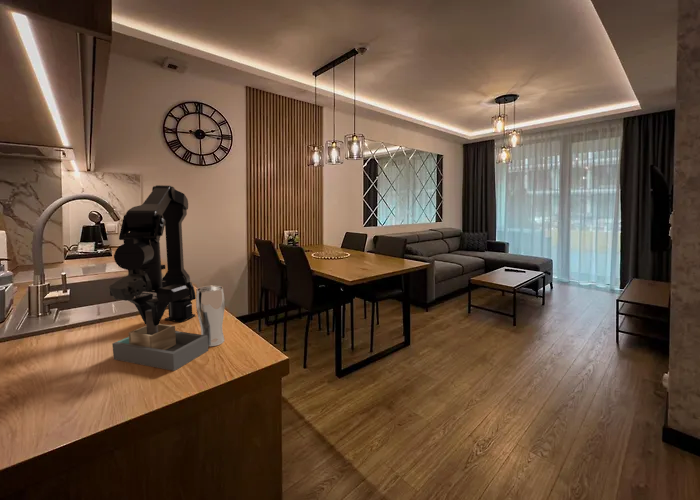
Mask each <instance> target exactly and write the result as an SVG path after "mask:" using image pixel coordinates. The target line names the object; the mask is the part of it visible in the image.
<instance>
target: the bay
mask: <svg viewBox="0 0 700 500" xmlns="http://www.w3.org/2000/svg"><path fill="white" fill-rule="evenodd" d="M175 335H176V345H174V346H172V347H170V348H169V349H167V350H161V349H155V348H149V347H144V346H138V345H132V344H129V336H126V337H125V338H122V339H120V340H117V341H115V342H113V343H112V354H113V355H112V356H113V360H114V361H115V360H116V361H120V362H125V363H131V364H135V365H142V366H146V367H151V368H157V369H163V370H167V371H173V372H175V371H177V370H178V369H180V368H182V367H184V366H185V365H187V364H188V363H191V362H192V361H194V360H195V359H196V358H198V357H200V356H201V355H203V354H205V353H207V352H208V351H209V347H208V336H207V335H201V333H200V334H198V333H192V332H186V331H178V330H175Z"/></svg>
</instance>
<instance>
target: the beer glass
mask: <svg viewBox="0 0 700 500" xmlns="http://www.w3.org/2000/svg"><path fill="white" fill-rule="evenodd" d="M224 292H225V291H224V287H223V286H222V285H217V284H216V285H215V284H213V285H212V284H211V285H204V286H199V287H197V288H196V290H195V295H196V299H195V302H196V303H195V306H196V307H195V308H196V313H197V318H198V321H199V327H200V331H201V332H200V335H207V336H208V348H212V347H217V346H220V345H222V344H223V343H224V342H225V336H224V332H223V331H224V330H223V324H224V323H223V322H224V316H225V307H226V306H225V302H226V301H225V294H224Z"/></svg>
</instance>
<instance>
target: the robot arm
mask: <svg viewBox="0 0 700 500" xmlns="http://www.w3.org/2000/svg"><path fill="white" fill-rule="evenodd" d="M188 209H189V200H188V198H187V196H186V194H185V193H183V192H182V191H179V190H177V189H176V188H175V187H174V186H172V185H166V184H165V185H162V184H159V185H158V184H156V185H153V186H152V190H151V192H150V194H149V195H148V196H147V198H146V199H145V200H144V201H143V203H142V204H140V205H136V206H132V207H131V208H129V209H128V210H127V211H126V212H125V214H124V215H123V218H122V222H121V226H120V231H119V235H118V240H119V241H123V243H122V244H121V245H119V246H118V247H117V248H116V249H115V251H114V254H113V259H114V262H115V264H116V266H117V265H118V267H119V268H121V269H123V270H127V272H128V273H127V275H126V276H123V277H121V278H120V279H119V280H117V281H115V282H114V283H112V284H111V285H109V286H108V288H109V296H110V297H113V298H114V299H113V300H116V301H118V300H123V301H125V302H126V301H127V302H130V303H131V304H133V305H134V306H135V307H136V309H137V310H138V313H139V315H140V317H141V318H142V321H143V324H145V325H146V315H145V311H147V310H151V311H152V318H153V323H154V325H155V326H156V325H158V324H161V320H162V317H163V316H164V314H165V312H166V309H167V307H168V317H165V318H164V321H168V322H169V321H170V322H176V323H177V322H178V323H182V322H184V321H187V320H190V319H192V318H194V317H196V314H195V313H194V314H193V304H192V302H193V300H196V290H195V288H194V285H193V282H191V277H190V274H189V273H188V272H187V270H186V269H185V268H184V267H185V266H184V247H183V230H182V229H183V228H182V223H183V222H184V219H185V218H186V216H187V214H188V212H187V211H188ZM164 230H165V231H164ZM164 232H165V246H166V249H165V250H166V263H167V264H162V259H161V258H162V257H161V243H160V240H161V237H162V236H163V235H164ZM166 266H167V267H166ZM166 268H167V271H166V273H165V274H164V276H163V273H162V270H166Z"/></svg>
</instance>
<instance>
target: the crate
mask: <svg viewBox="0 0 700 500" xmlns="http://www.w3.org/2000/svg"><path fill="white" fill-rule="evenodd" d="M145 315H146V324H145V325H144V326H142V327H138V328H137V329H134V330H131V331H129V332H128V337H129V344H132V345H138V346H144V347H149V348H155V349H161V350H167V349H169V348H170V347H172V346H174V345H176V335H175V331H176V325H171V324H164V323H159V324H158V325H156V326H155V325H154V323H153V318H152V311H151V310H147V311H145Z"/></svg>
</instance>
